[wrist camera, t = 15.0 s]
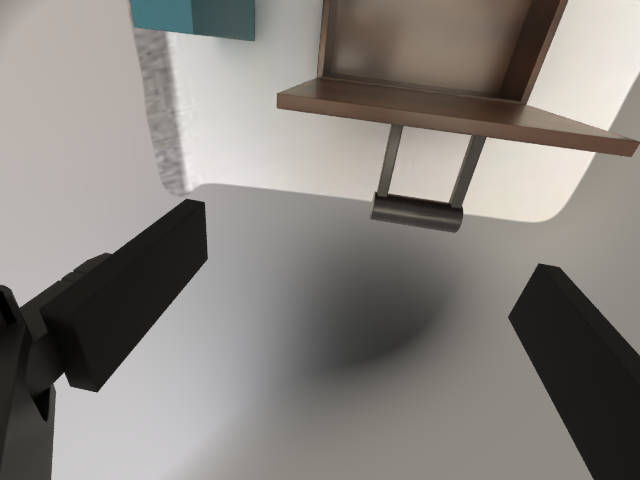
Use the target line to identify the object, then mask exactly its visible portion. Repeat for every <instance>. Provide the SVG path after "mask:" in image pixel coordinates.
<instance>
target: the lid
mask: <svg viewBox="0 0 640 480" xmlns="http://www.w3.org/2000/svg"><path fill="white" fill-rule="evenodd" d="M277 108H278V109H285V110H293V111H300V112H307V113H314V114H322V115H329V116H336V117H344V118H351V119H358V120H365V121H373V122H380V123H387V124H391V128H390V132H389V137H388V142H387V147H386V152H385V156H384V161H383V166H382V171H381V175H380V180H379V185H378V190H377V192H375V193H374V196H373V200H372V206H371V212H370V219H371V220H377V221H384V222H390V223H396V224H402V225H409V226H415V227H422V228H427V229H434V230H441V231H447V232H453V233H455V232H457V231H458V230H459V228H460V225H461V222H462V219H463V207H462V203H463V201H464V198H465V195H466V192H467V190H468V187H469V184H470V181H471V179H472V176H473V173H474V170H475V168H476V165H477V162H478V159H479V156H480V154H481V151H482V148H483V145H484V143H485V140H486V137H489V138H496V139H504V140H511V141H518V142H526V143H533V144H540V145H547V146H555V147H562V148H569V149H576V150H584V151H591V152H599V153H606V154H613V155H620V156H628V157H631V156H632V155H633V154H634V152H635V150H636V149H637V147H638V145H639V144H640V142H639V141H636V140H633V139H630V138H627V137H623V136H621V135H618V134H614V133H611V132H608V131H605V130H602V129H599V128H596V127H593V126H590V125H587V124H584V123H581V122H578V121H575V120H572V119H569V118H565V117H562V116H559V115H556V114H553V113H550V112H547V111H544V110H541V109H538V108H535V107H532V106H529V105H522V104H514V103H506V102H498V101H491V100H483V99H475V98H468V97H460V96H452V95H444V94H437V93H429V92H421V91H413V90H406V89H398V88H390V87H383V86H375V85H367V84H359V83H352V82H344V81H336V80H328V79H321V78H315V79H312V80H310V81H307V82H305V83H302V84H300V85H297V86H295V87H292V88H290V89H287V90H285V91H282V92H280V93H277ZM403 126H409V127H416V128H424V129H431V130H438V131H445V132H453V133H460V134H467V135H472V136H471V139H470V142H469V145H468V148H467V151H466V154H465V157H464V159H463V162H462V165H461V168H460V171H459V174H458V177H457V180H456V183H455V186H454V189H453V192H452V195H451V198H450V201H449V203H447V202H441V201H434V200H427V199H421V198H414V197H408V196H401V195H395V194H388V191H389V186H390V182H391V178H392V173H393V169H394V164H395V160H396V156H397V151H398V147H399V143H400V138H401V134H402V129H403Z"/></svg>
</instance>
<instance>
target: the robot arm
mask: <svg viewBox="0 0 640 480" xmlns="http://www.w3.org/2000/svg"><path fill="white" fill-rule="evenodd" d="M207 259H208V255H207V235H206V217H205V202H201V201H195V200H190V199H186V200H184V201H183V202H182V203H180V204H179V205H177V206H176V207H175V208H174V209H172V210H171V211H169V212H168V213H167V214H165V215H164V216H163V217H161V218H160V219H159V220H157V221H156V222H155V223H153V224H152V225H151V226H149V227H148V228H147V229H145V230H144V231H143V232H141V233H140V234H139V235H137V236H136V237H135V238H133V239H132V240H131V241H129V242H128V243H127V244H125V245H124V246H123V247H121V248H120V249H119V250H117V251H116V252H115V253H113V254H109V253H104V254H102V255H99V256H97V257H94V258H92V259H89V260H87V261H86V262H84V263H83V264H81V265H80V266H79V267H77V268H76V269H74V271H73V272H70V273H69V274H67V275H66V276H64V277H63V278H62V280H61V281H57V282H56V283H54V284H53V285H52V286H50V287H49V288H47V289H46V290H44V291H43V292H42V293H40V294H39V295H38V296H36V297H35V298H33V299H32V300H30V301H29V302H27V303H26V304H25V305H23V306H22V307H20V308H19V306H18V304H17V302H16V299H15V297H14V295H13V293H12V290H11V289H9V288H8V287H6V286H4V285H0V480H51V471H52V453H53V435H54V416H55V398H56V391H55V388H54V384H53V383H54V382H55V381H56V380H57V379H58V378H59V377H60V376H61V375H62V374H63V373H64V372H65V375H66V377H67V379H68V382H69V385H70V386H71V387H75V388H79V389H84V390H88V391H93V392H98V391H99V390H100V389H101V387H102V386H103V385H104V384H105V382H106V381H107V380H108V379H109V378H110V376H111V375H112V374H113V373H114V372H115V370H116V369H117V368H118V367H119V366H120V364H121V363H122V362H123V361H124V359H125V358H126V357H127V356H128V355H129V354H130V352H131V351H132V350H133V349H134V347H135V346H136V345H137V344H138V343H139V341H140V340H141V339H142V338H143V337H144V335H145V334H146V333H147V332H148V331H149V329H150V328H151V327H152V326H153V325H154V323H155V322H156V321H157V320H158V319H159V317H160V316H161V315H162V313H163V312H164V311H165V310H166V309H167V308H168V306H169V305H170V304H171V303H172V302H173V300H174V299H175V298H176V297H177V296H178V294H179V293H180V292H181V290H183V288H184V287H185V286H186V285H187V283H188V282H189V281H190V280H191V279H192V277H193V276H194V275H195V274H196V273H197V271H198V270H199V269H200V268H201V267H202V265H203V264H204V263H205V262H206V261H207ZM508 318H509V320H510V322H511V324H512V326H513V328H514V330H515V331H516V333H517V335H518V337H519V339H520V341H521V343H522V345H523V347H524V349H525V350H526V352H527V354H528V356H529V358H530V360H531V361H532V364H533V366H534V367H535V369H536V371H537V373H538V375H539V377H540V379H541V381H542V383H543V384H544V386H545V388H546V390H547V392H548V394H549V396H550V398H551V400H552V401H553V403H554V405H555V407H556V409H557V411H558V413H559V415H560V417H561V419H562V420H563V422H564V424H565V426H566V428H567V430H568V432H569V434H570V435H571V438H572V439H573V441H574V443H575V445H576V447H577V449H578V451H579V453H580V454H581V456H582V458H583V460H584V462H585V464H586V466H587V468H588V470H589V471H590V473H591V475H592V477H593V479H594V480H640V356H639V354H638V353H637V352H636V351H635V350H634V349H633V348H632V347H631V346H630V345H629V344H628V342H627V341H626V340H625V339H624V338H623V337H622V336H621V335H620V333H619V332H618V331H617V330H616V329H615V328H614V327H613V326H612V325H611V324H610V322H609V321H608V320H607V319H606V318H605V317H604V316H603V315H602V314H601V312H600V311H599V310H598V309H597V308H596V307H595V306H594V305H593V304H592V303H591V301H590V300H589V299H588V298H587V297H586V296H585V295H584V294H583V293H582V291H581V290H580V289H579V288H578V287H577V286H576V285H575V284H574V283H573V282H572V280H570V278H569V277H568V276H567V275H566V274H565V273H564V272H563V270H562V269H561V268H560V267H556V266H550V265H545V264H538V266H537V267H536V269H535V271H534V273H533V274H532V276H531V278H530V280H529V281H528V283H527V285H526V287H525V288H524V290H523V292H522V294H521V295H520V297H519V299H518V301H517V302H516V304H515V306H514V308H513V309H512V311H511V313H510V315H509V316H508Z"/></svg>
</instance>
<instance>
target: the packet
mask: <svg viewBox="0 0 640 480" xmlns="http://www.w3.org/2000/svg"><path fill="white" fill-rule="evenodd" d="M130 4H131V10H132V17H133V23H134V27H137V28H145V29H153V30H161V31H170V32H178V33H186V34H194V35H203V36H212V37H221V38H230V39H239V40H247V41H254V0H130Z"/></svg>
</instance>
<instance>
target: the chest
mask: <svg viewBox="0 0 640 480" xmlns="http://www.w3.org/2000/svg"><path fill="white" fill-rule="evenodd" d="M567 2H568V0H324V1H323V12H322V23H321V34H320V45H319V56H318V68H317V78H321V79H328V80H336V81H344V82H352V83H359V84H367V85H375V86H383V87H390V88H398V89H406V90H413V91H421V92H429V93H437V94H444V95H452V96H460V97H468V98H475V99H483V100H491V101H498V102H506V103H514V104H522V105H526V104H527V102H528V99H529V97H530V94H531V92H532V89H533V87H534V84H535V82H536V79H537V77H538V74H539V72H540V69H541V67H542V64H543V62H544V59H545V57H546V54H547V52H548V49H549V47H550V45H551V42H552V40H553V37H554V35H555V32H556V30H557V27H558V25H559V22H560V20H561V17H562V15H563V12H564V10H565V7H566V5H567Z"/></svg>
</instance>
